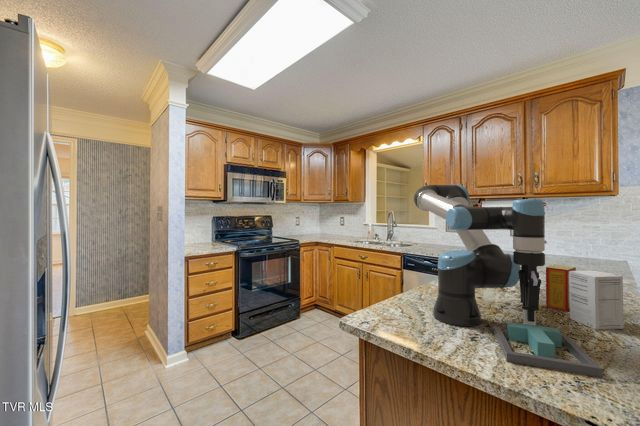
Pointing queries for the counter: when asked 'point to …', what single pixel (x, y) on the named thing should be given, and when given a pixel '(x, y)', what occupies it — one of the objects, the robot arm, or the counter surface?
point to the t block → (536, 338)
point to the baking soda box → (558, 287)
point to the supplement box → (596, 299)
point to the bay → (584, 367)
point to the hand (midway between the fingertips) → (529, 330)
